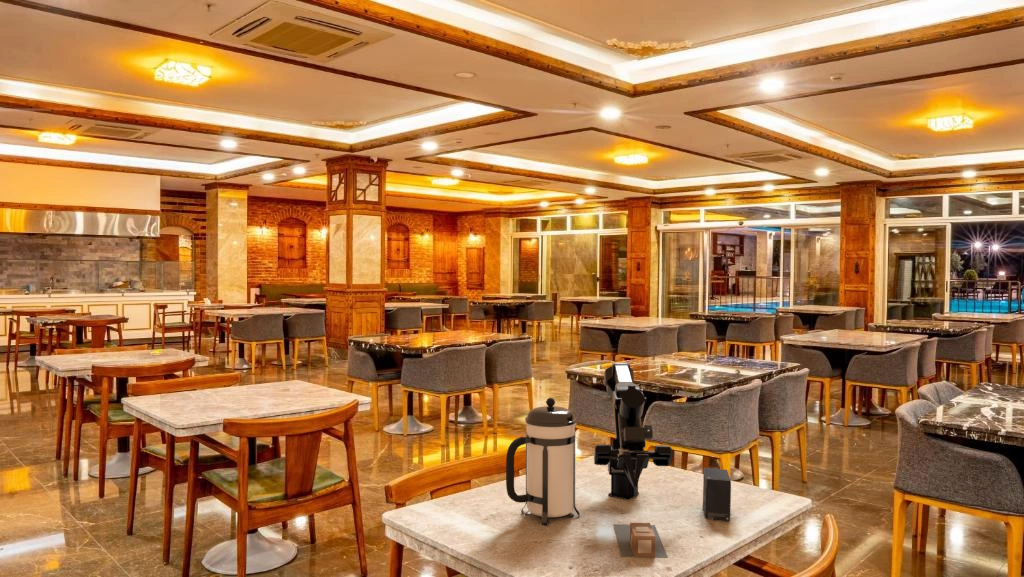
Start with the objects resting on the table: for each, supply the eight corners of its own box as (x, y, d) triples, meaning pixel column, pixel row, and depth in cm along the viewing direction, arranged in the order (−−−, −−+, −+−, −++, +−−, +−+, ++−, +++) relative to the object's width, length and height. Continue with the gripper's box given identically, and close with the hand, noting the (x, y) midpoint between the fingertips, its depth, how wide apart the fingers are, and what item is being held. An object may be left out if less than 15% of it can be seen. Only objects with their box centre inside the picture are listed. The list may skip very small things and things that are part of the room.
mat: (613, 526, 172) (613, 524, 172) (654, 527, 171) (654, 525, 171) (621, 558, 152) (621, 556, 152) (668, 560, 152) (668, 557, 152)
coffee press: (527, 503, 189) (527, 391, 188) (586, 510, 184) (586, 394, 183) (505, 525, 173) (505, 402, 172) (568, 533, 167) (569, 406, 167)
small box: (731, 522, 175) (732, 480, 175) (704, 520, 176) (704, 478, 176) (727, 508, 185) (728, 468, 185) (701, 506, 187) (702, 467, 186)
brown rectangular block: (629, 521, 160) (633, 535, 152) (649, 522, 160) (655, 535, 152) (628, 542, 161) (633, 556, 152) (649, 542, 160) (655, 557, 152)
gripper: (595, 411, 174) (598, 469, 164) (672, 413, 173) (679, 471, 163) (592, 436, 182) (595, 492, 172) (666, 437, 181) (673, 493, 171)
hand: (635, 486), depth 169 cm, fingers closed
